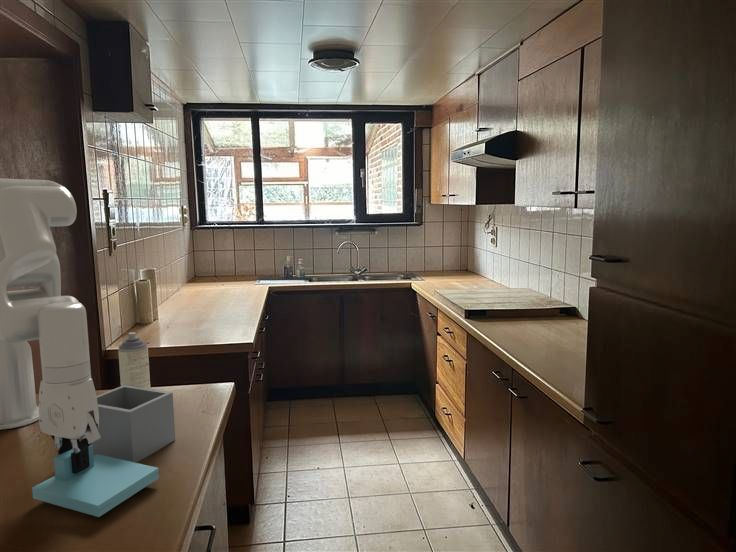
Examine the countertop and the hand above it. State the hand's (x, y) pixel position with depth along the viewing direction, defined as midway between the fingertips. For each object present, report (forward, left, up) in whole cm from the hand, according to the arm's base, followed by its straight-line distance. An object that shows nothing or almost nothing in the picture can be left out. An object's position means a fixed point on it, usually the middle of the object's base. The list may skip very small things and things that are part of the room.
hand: (74, 468), depth 97 cm
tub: (-4, +17, -4) cm, 18 cm away
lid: (+6, 0, -3) cm, 6 cm away
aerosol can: (-19, +34, -4) cm, 39 cm away
